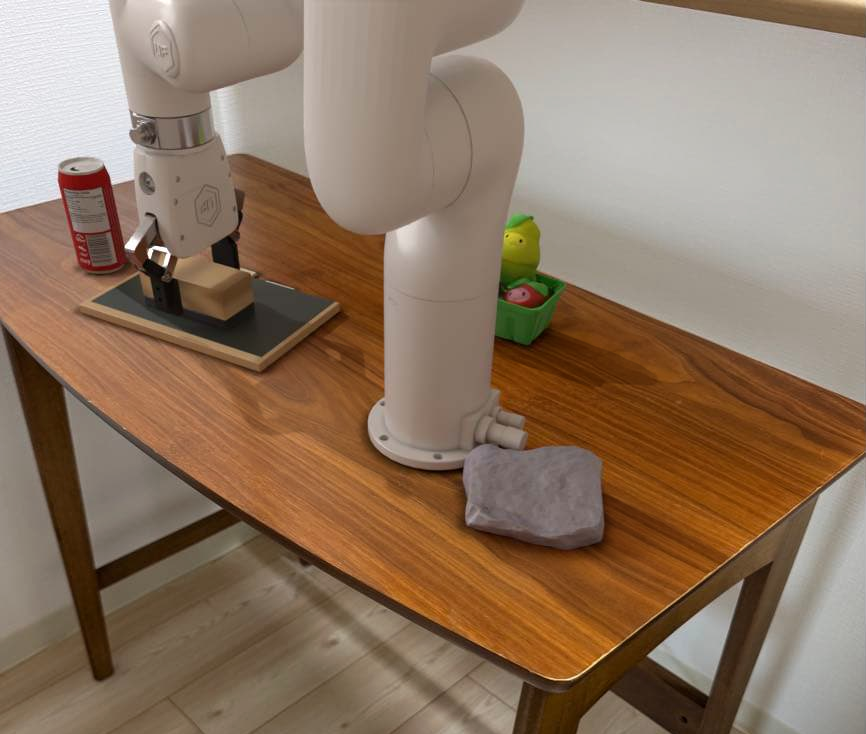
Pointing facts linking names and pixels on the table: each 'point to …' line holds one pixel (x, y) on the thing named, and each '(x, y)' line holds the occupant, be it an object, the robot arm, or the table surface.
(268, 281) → the white chalk stick
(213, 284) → the eraser
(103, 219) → the soda can
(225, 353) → the chalkboard
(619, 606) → the table surface
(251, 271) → the chalk mark
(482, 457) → the stone block
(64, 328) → the table surface
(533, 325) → the fruit basket
